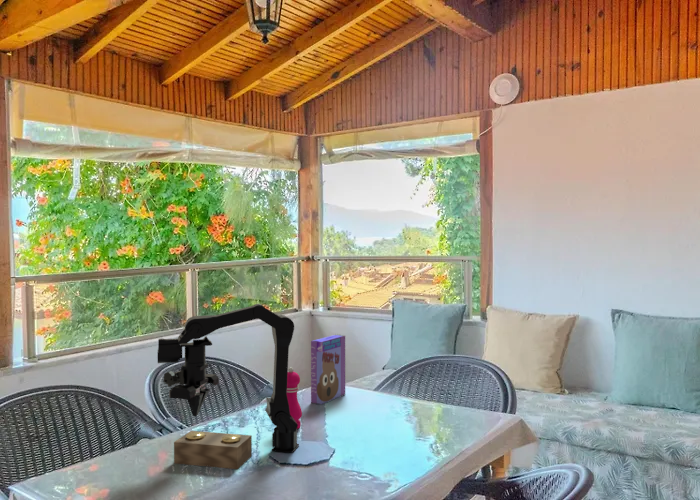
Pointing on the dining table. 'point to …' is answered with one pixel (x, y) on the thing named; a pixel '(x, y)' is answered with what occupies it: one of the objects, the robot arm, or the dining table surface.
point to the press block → (213, 451)
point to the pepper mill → (293, 395)
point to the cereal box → (327, 369)
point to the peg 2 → (231, 438)
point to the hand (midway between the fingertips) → (195, 415)
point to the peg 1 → (195, 435)
